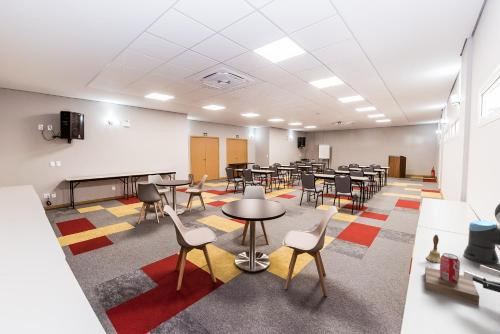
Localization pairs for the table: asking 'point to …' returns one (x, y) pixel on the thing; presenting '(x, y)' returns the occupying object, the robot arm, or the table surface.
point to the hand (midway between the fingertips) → (472, 270)
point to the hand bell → (434, 251)
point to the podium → (451, 286)
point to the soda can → (449, 267)
